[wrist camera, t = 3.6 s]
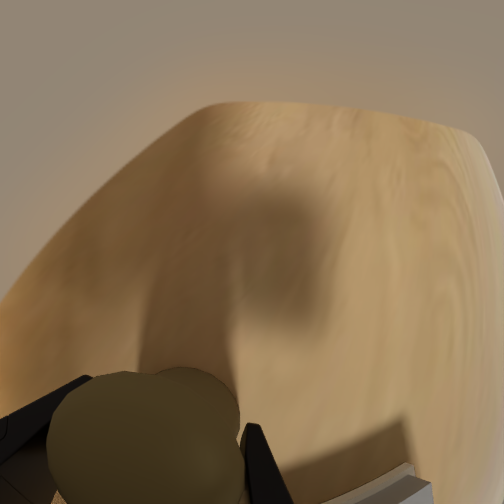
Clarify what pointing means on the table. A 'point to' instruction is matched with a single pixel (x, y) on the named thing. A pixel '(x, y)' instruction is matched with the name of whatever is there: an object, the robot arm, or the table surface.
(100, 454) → the cork
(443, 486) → the table surface
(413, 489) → the socket plate
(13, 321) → the table surface
